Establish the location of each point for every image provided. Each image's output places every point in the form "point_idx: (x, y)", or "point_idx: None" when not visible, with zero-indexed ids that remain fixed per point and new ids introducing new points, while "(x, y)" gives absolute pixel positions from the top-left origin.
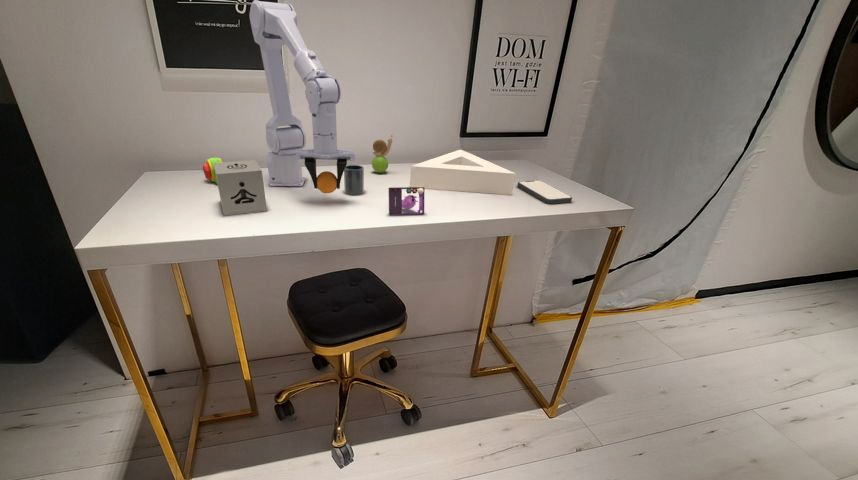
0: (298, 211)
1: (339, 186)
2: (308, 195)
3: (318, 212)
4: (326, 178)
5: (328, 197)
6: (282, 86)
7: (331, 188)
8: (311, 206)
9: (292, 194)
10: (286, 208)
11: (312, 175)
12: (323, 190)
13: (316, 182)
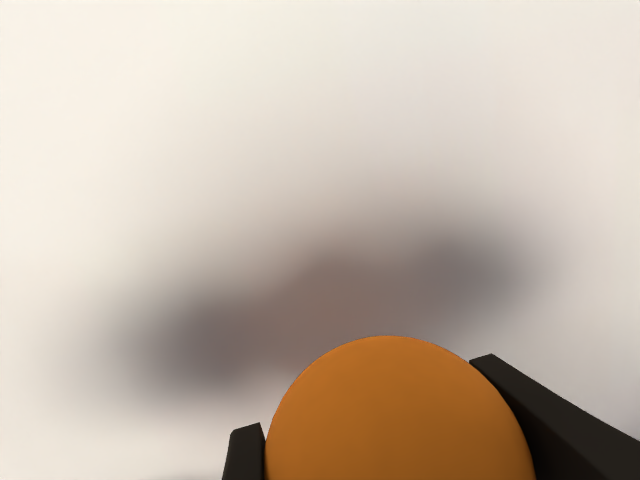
0: (538, 48)
1: (229, 453)
2: None
3: (360, 59)
4: (417, 476)
5: None
6: None
7: (311, 378)
8: (443, 194)
9: (584, 366)
10: (629, 101)
11: (637, 458)
12: (396, 337)
13: (511, 411)
